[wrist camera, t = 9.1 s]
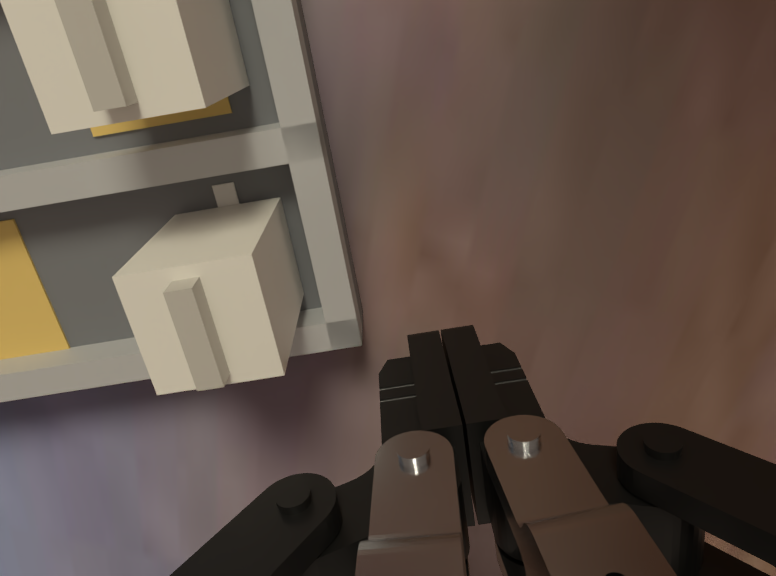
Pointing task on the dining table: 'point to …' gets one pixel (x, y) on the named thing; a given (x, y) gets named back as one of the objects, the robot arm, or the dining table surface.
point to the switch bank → (160, 207)
